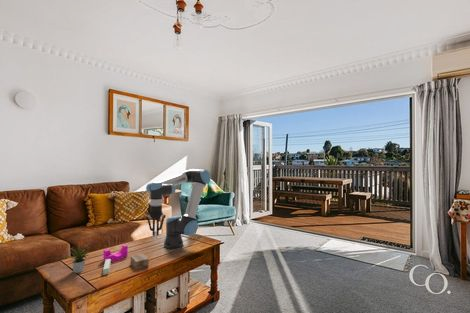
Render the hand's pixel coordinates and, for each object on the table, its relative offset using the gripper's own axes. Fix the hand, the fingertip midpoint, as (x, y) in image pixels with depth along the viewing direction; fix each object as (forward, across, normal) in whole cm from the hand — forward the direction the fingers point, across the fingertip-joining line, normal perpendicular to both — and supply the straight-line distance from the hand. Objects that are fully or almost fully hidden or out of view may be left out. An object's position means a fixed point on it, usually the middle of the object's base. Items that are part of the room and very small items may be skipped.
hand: (155, 240), depth 170 cm
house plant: (+15, +46, -2) cm, 48 cm away
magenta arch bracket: (+15, +24, -16) cm, 33 cm away
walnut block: (+15, +10, 0) cm, 18 cm away
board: (+15, +29, 0) cm, 33 cm away
